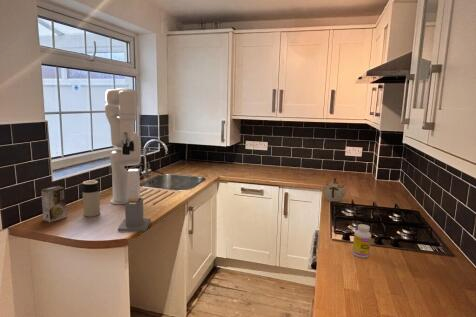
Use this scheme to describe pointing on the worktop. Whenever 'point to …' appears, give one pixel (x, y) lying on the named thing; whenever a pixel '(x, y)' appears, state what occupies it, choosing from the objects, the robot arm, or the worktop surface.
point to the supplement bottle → (362, 241)
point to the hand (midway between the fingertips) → (128, 152)
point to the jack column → (133, 185)
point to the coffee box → (54, 203)
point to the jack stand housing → (134, 217)
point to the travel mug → (91, 198)
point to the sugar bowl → (334, 191)
